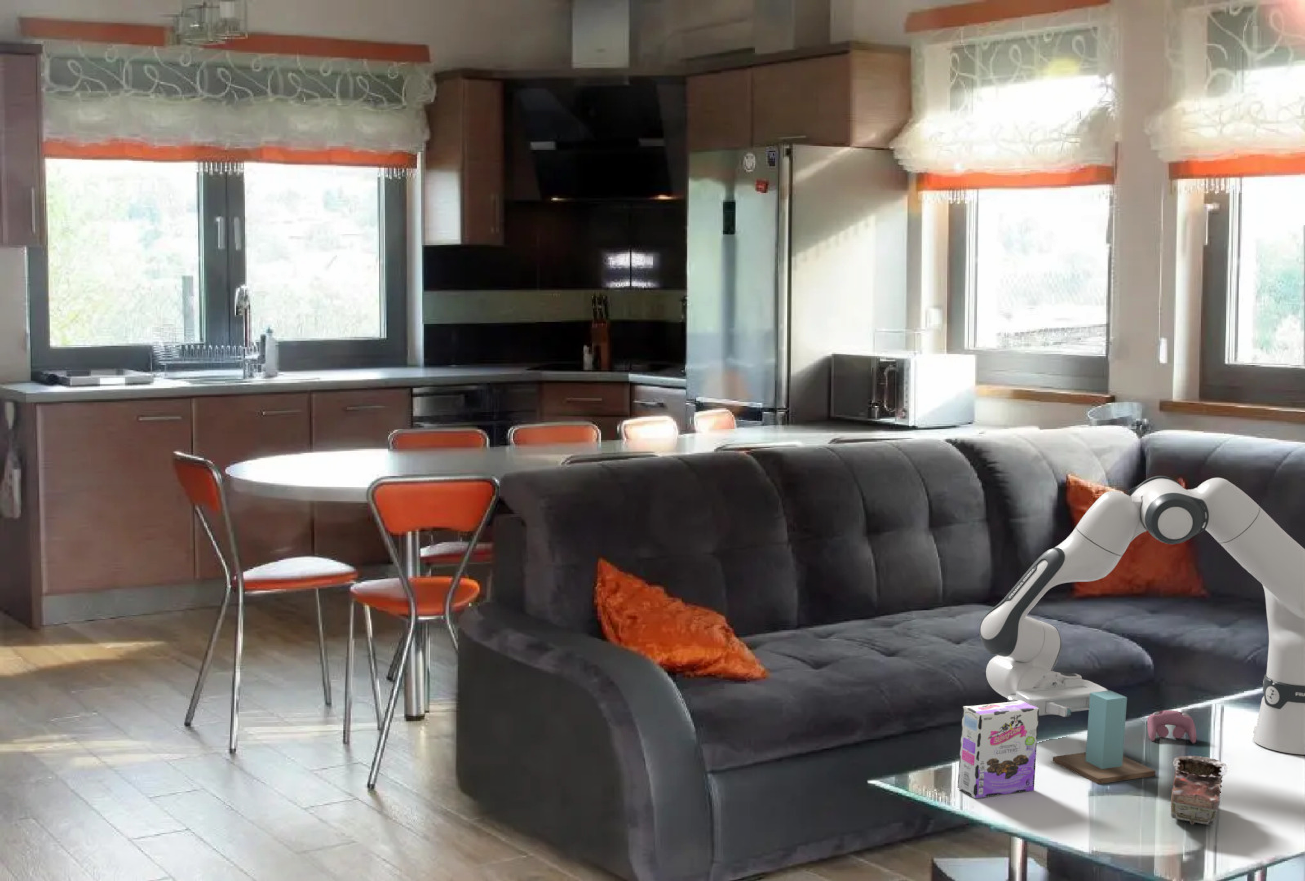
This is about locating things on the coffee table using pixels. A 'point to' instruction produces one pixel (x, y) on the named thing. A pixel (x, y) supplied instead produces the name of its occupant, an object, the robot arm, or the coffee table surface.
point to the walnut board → (1099, 775)
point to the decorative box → (1196, 789)
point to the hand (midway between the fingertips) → (1087, 710)
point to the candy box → (998, 748)
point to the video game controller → (1176, 718)
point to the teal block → (1106, 729)
